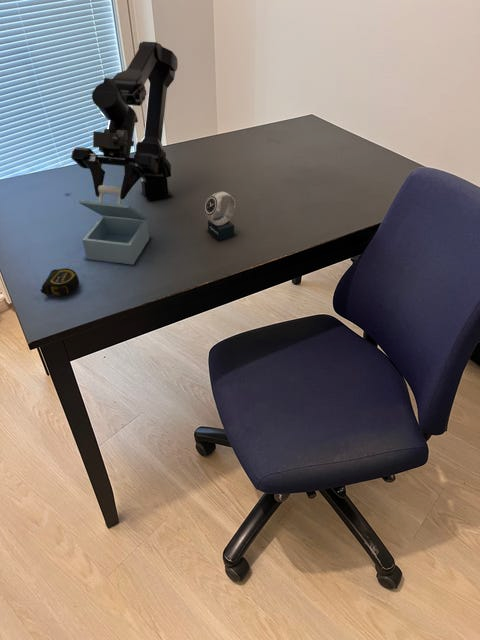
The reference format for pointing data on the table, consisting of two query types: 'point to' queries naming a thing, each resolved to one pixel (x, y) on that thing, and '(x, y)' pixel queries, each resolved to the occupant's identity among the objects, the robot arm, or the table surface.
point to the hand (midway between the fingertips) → (109, 197)
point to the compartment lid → (112, 205)
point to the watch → (220, 224)
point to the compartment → (116, 240)
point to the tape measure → (60, 282)
